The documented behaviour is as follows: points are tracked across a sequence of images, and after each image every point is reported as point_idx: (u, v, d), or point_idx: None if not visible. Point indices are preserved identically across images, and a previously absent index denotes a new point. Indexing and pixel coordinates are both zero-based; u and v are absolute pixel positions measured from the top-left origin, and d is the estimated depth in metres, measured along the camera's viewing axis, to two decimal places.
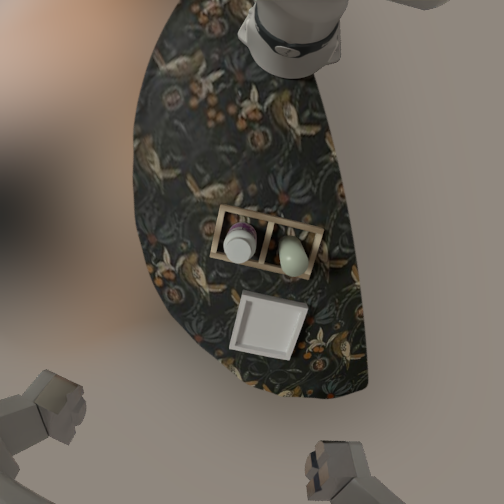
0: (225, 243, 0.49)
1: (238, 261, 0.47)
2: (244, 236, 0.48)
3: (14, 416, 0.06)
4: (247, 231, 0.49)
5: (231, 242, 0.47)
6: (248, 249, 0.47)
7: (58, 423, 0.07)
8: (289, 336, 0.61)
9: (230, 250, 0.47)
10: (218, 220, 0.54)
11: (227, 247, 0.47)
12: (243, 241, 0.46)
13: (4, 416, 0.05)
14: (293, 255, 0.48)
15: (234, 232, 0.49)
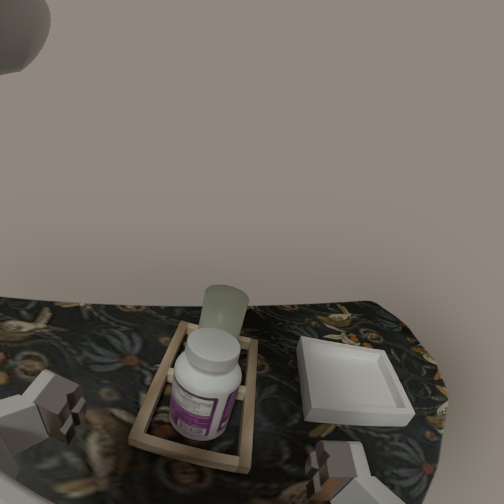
0: (202, 384, 0.20)
1: (235, 344, 0.22)
2: None
3: (14, 416, 0.06)
4: None
5: (195, 349, 0.20)
6: (209, 329, 0.23)
7: (58, 423, 0.07)
8: (352, 359, 0.38)
9: (213, 352, 0.20)
10: (163, 446, 0.20)
11: (207, 357, 0.20)
12: (192, 334, 0.22)
13: (4, 416, 0.05)
14: (214, 294, 0.30)
15: (178, 370, 0.21)
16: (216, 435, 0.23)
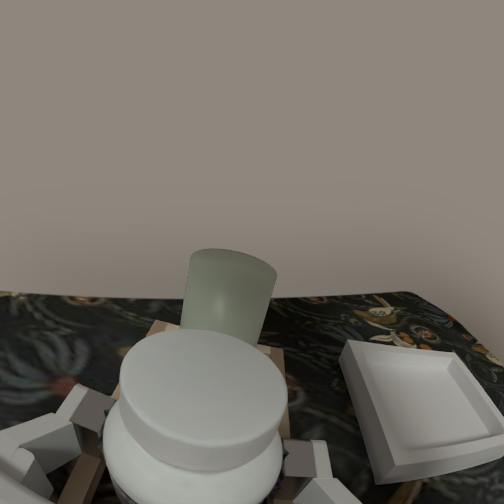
0: (175, 496, 0.05)
1: (271, 377, 0.07)
2: None
3: (49, 436, 0.06)
4: None
5: (139, 401, 0.05)
6: (190, 334, 0.08)
7: (96, 441, 0.07)
8: (418, 369, 0.23)
9: (203, 412, 0.05)
10: None
11: (179, 430, 0.05)
12: (139, 346, 0.07)
13: (39, 438, 0.05)
14: (208, 263, 0.15)
15: (107, 446, 0.06)
16: None
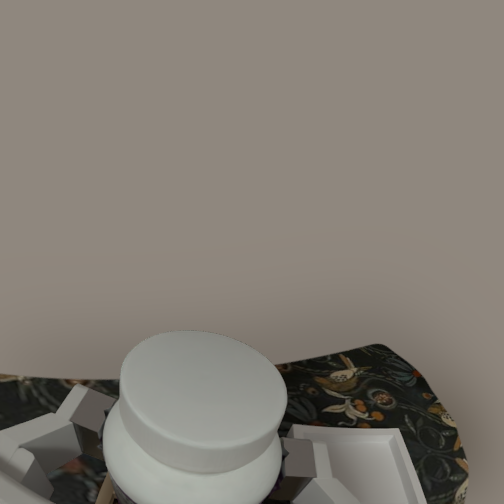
0: (175, 497, 0.05)
1: (271, 379, 0.07)
2: None
3: (49, 436, 0.06)
4: None
5: (140, 403, 0.05)
6: (191, 335, 0.08)
7: (96, 440, 0.07)
8: (358, 445, 0.26)
9: (203, 414, 0.05)
10: None
11: (180, 432, 0.05)
12: (140, 348, 0.07)
13: (39, 437, 0.05)
14: None
15: (107, 447, 0.06)
16: None
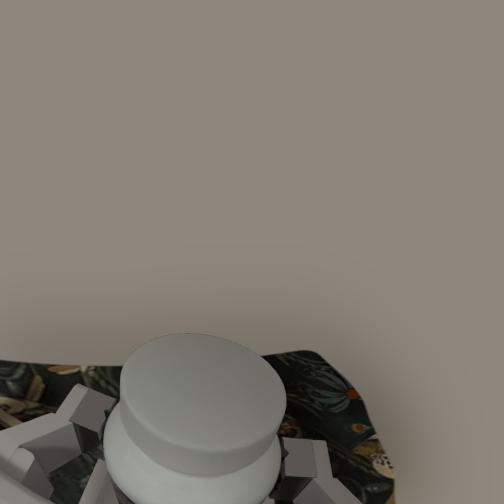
0: (175, 499, 0.05)
1: (270, 383, 0.07)
2: None
3: (49, 436, 0.06)
4: None
5: (140, 407, 0.05)
6: (190, 339, 0.08)
7: (97, 441, 0.07)
8: None
9: (202, 418, 0.05)
10: None
11: (179, 435, 0.05)
12: (140, 351, 0.07)
13: (39, 437, 0.05)
14: None
15: (108, 449, 0.06)
16: None
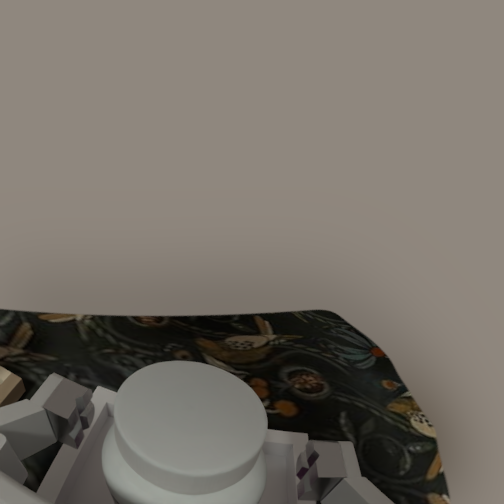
0: None
1: (253, 410, 0.07)
2: None
3: (22, 421, 0.06)
4: None
5: (131, 435, 0.05)
6: (179, 366, 0.08)
7: (67, 428, 0.07)
8: None
9: (188, 445, 0.06)
10: None
11: (167, 461, 0.05)
12: (131, 381, 0.07)
13: (13, 422, 0.05)
14: None
15: (106, 467, 0.06)
16: None
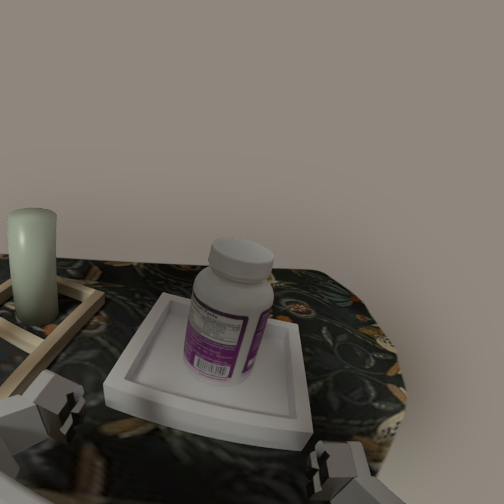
0: (231, 296, 0.18)
1: (268, 252, 0.19)
2: (207, 268, 0.20)
3: (14, 416, 0.06)
4: None
5: (222, 251, 0.18)
6: (235, 239, 0.20)
7: (58, 423, 0.07)
8: None
9: (244, 255, 0.18)
10: None
11: (237, 257, 0.17)
12: (217, 240, 0.19)
13: (5, 416, 0.05)
14: (17, 214, 0.18)
15: (199, 284, 0.19)
16: (241, 379, 0.20)
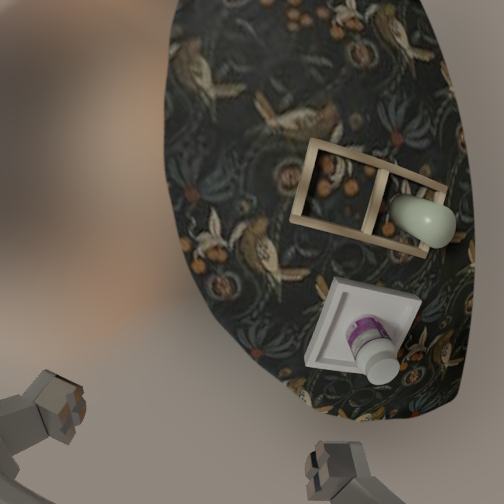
0: (362, 358, 0.32)
1: (381, 382, 0.31)
2: (388, 348, 0.31)
3: (14, 416, 0.06)
4: (388, 338, 0.33)
5: (378, 363, 0.30)
6: (397, 368, 0.30)
7: (58, 423, 0.07)
8: None
9: (375, 372, 0.30)
10: (307, 162, 0.33)
11: (372, 369, 0.30)
12: (393, 360, 0.30)
13: (4, 416, 0.05)
14: (439, 214, 0.26)
15: (375, 344, 0.32)
16: None
